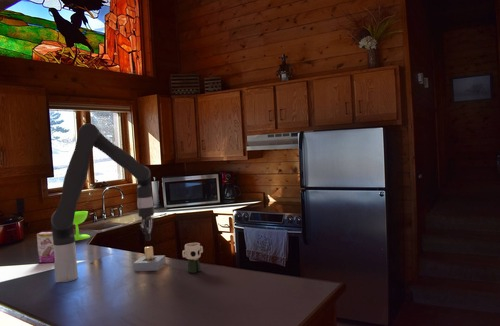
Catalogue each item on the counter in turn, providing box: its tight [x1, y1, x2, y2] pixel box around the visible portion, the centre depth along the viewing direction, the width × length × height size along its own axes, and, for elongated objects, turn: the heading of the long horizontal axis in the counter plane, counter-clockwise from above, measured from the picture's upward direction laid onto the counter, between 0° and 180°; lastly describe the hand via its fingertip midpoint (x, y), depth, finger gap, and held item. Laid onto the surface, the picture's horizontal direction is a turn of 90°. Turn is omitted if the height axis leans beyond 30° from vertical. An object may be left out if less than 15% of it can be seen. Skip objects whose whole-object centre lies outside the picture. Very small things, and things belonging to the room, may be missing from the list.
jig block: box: [133, 255, 167, 272], centre depth 198 cm, size 12×12×4 cm
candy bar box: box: [36, 231, 55, 264], centre depth 222 cm, size 11×5×16 cm, turn 84°
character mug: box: [181, 242, 204, 274], centre depth 186 cm, size 11×7×13 cm, turn 129°
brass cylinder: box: [144, 245, 154, 261], centre depth 198 cm, size 4×4×10 cm
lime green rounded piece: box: [73, 210, 91, 242], centre depth 282 cm, size 16×16×18 cm
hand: (148, 240), depth 198 cm, fingers closed
